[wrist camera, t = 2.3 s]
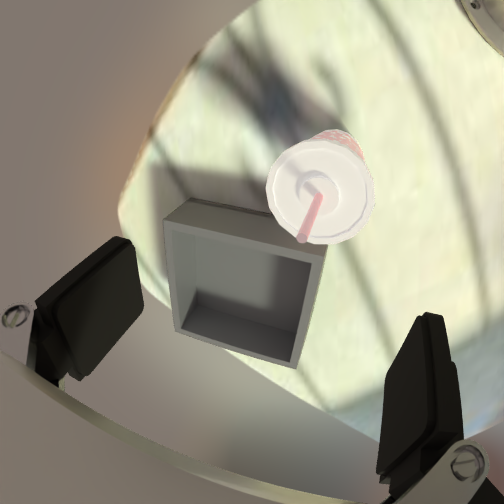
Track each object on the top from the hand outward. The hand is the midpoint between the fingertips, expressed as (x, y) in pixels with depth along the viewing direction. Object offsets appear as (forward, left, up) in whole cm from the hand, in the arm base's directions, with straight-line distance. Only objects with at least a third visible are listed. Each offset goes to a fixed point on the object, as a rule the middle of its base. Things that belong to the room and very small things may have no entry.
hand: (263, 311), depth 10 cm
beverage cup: (0, 0, -19) cm, 19 cm away
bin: (+13, -6, -18) cm, 23 cm away
